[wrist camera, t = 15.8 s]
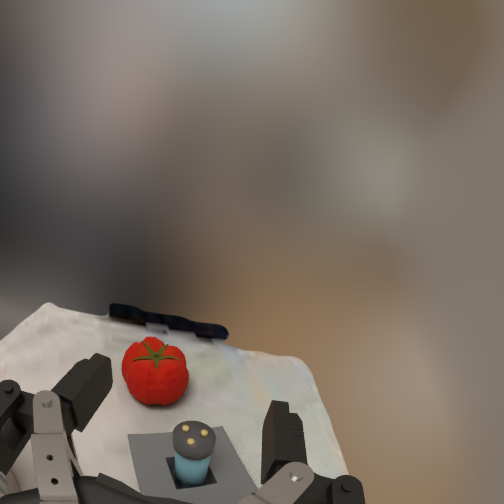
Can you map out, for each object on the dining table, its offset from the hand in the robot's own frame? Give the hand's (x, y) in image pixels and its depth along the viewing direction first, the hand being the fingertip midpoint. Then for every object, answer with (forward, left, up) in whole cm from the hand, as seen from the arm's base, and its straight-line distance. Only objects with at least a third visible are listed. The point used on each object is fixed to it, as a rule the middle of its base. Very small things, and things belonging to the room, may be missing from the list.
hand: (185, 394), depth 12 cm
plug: (+5, +10, -32) cm, 34 cm away
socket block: (+5, +10, -32) cm, 34 cm away
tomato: (+4, +32, -32) cm, 46 cm away
